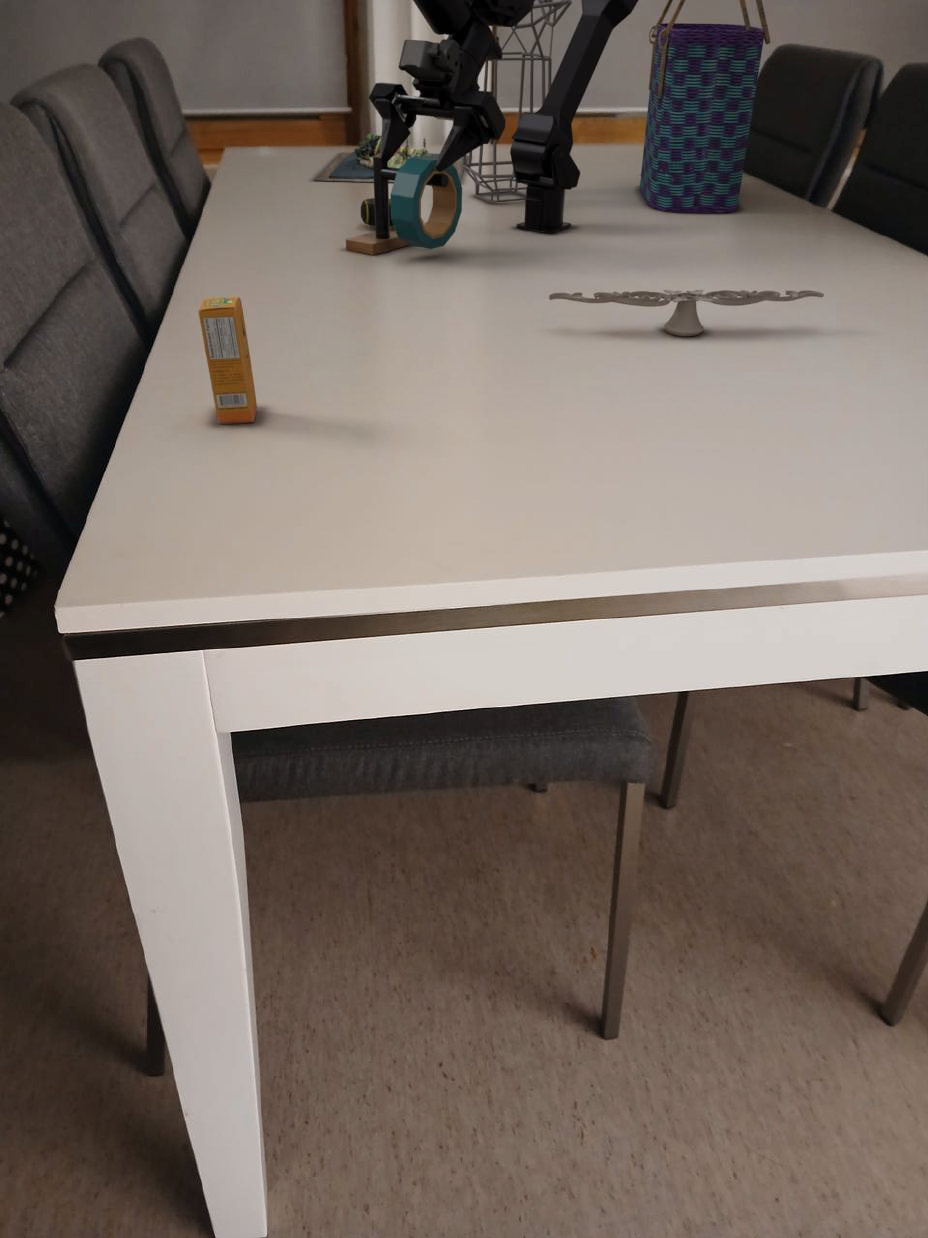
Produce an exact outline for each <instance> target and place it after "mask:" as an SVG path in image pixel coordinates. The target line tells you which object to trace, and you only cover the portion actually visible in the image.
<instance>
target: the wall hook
mask: <svg viewBox="0 0 928 1238" xmlns="http://www.w3.org/2000/svg"><path fill="white" fill-rule="evenodd" d="M784 294H785V296H781V292H779V291H776V290H763V291H758V290H752V291H749V290H739V291H737V290H728V289H726V290H725V289H724V290H716V291H709V292H706V293H705V294H704V289H695V290H686V291H685V292H683V291H682V290H676V291H675V290H669V289H663V292H660V291H659V292H657V291H648V290H638V291H623V292H621V293H620V292H617V291H612V292H603V291H599V292H594V293H593V297H592V298H591V297H585V296H583V292H573V293H572V294H571V293H567V292H553V293H551V294H549V296H548V299H549V301H553V300H568V301H573V302H579V303H587V304H607V303H616V304H622V305H627V306H635V307H645V308H646V307H653V308H654V307H655V308H657V307H662V306H664V307H665V306H668V305H669V304H670V303H671V302H672V303H676V306H675V309H674V311H673V313H672V315H671V317H670V318H669V319H668V321H666V322H665V323H664V325H663V328H664V330H665V331H666V332H667V333H668V334H670V335H673V336H678V337H693V336H698V335H699V334H701V333H702V332H703V330H704V326H703V325H702V323H701V321H700V318H699V314H698V309H697V302H699V301H702V302H708V303H712V304H714V305H719V306H725V307H727V306H728V307H729V306H730V307H736V306H737V307H738V306H747V305H748V306H749V305H754V304H757V303H761V302H764V301H768V302H792V301H796V300H797V301H798V300H800V299H804V298H808V297H812V298H813V297H815V298H823V297H824V296H825V294H824V292H821V291H815V290H799V291H795V290H785V293H784Z"/></svg>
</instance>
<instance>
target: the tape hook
mask: <svg viewBox="0 0 928 1238" xmlns="http://www.w3.org/2000/svg"><path fill="white" fill-rule="evenodd" d="M399 169H400V168H393V167H388V162H387V163H386V164H385V165H383V164H382V163H381V162H380V160H379V155H375V156H373V176H374V182H373V196H374V197H373V198H374V203H375V227H374V229H375V230H374V231H376V238H378V239H388V238H390V231H391V230H390V229H391V226H390V225H389V199H390V195H389V182H388V180H394V181H395V178H396V174H397V172H398V171H399ZM448 182H449V179H448V176H447V175H445V174H434V175H433V176H432V177H431V179H430V180H429V181H428V182H427V184H426V185H425V186H429V187H432V186H435V187H442V188H445V187H447V185H448Z"/></svg>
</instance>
